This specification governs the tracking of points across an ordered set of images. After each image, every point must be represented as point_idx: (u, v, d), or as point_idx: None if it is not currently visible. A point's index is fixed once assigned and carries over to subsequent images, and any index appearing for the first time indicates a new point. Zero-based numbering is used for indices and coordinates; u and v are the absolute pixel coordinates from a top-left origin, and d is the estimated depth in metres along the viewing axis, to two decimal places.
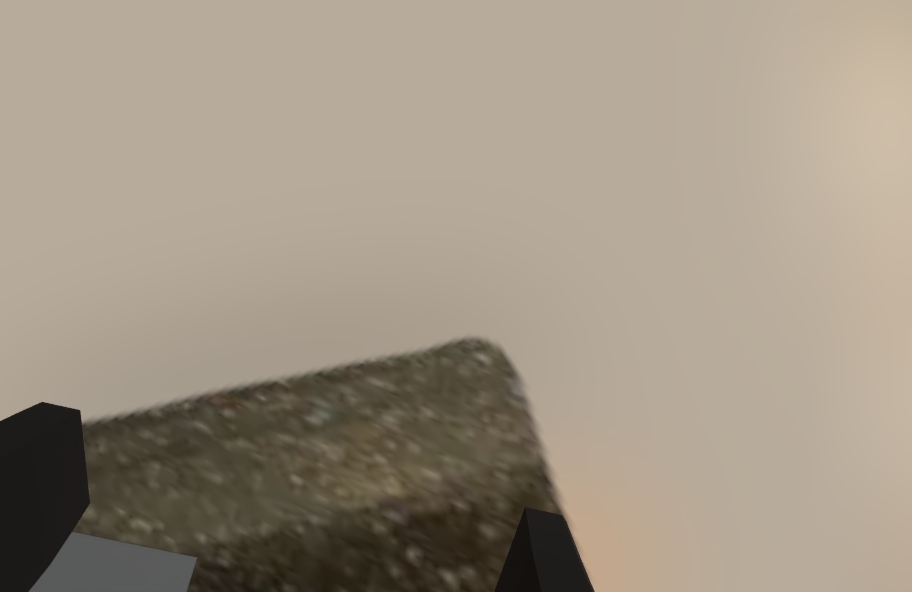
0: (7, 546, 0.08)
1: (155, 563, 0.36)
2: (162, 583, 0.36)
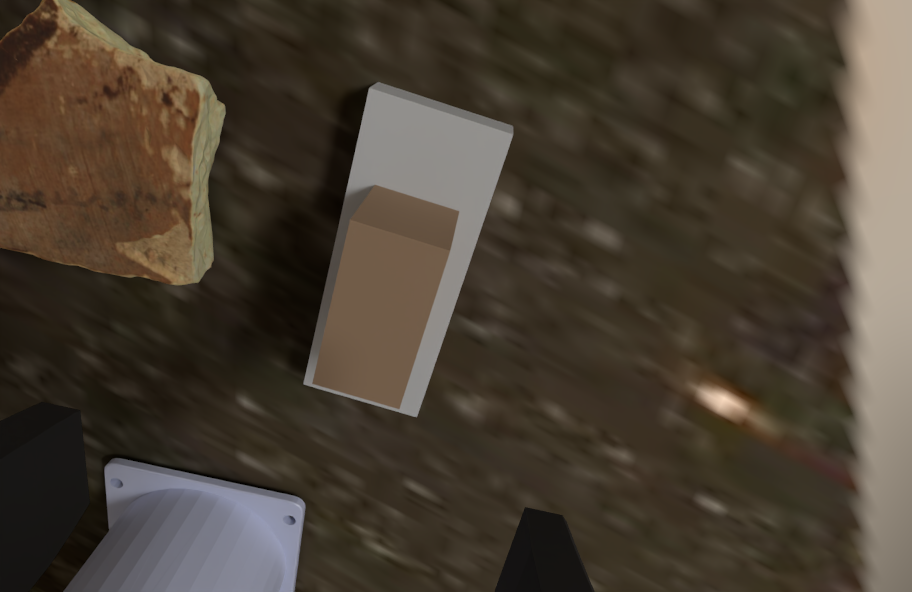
0: (7, 546, 0.08)
1: None
2: None
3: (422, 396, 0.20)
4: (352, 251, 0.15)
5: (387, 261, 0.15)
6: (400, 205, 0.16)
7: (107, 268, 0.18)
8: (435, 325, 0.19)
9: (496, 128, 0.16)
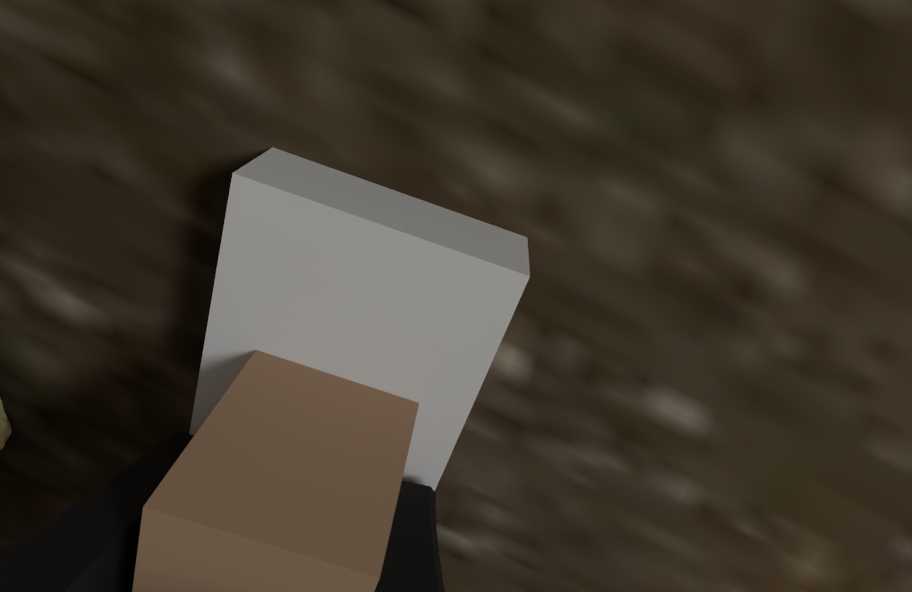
0: None
1: None
2: None
3: None
4: (158, 562, 0.06)
5: (237, 584, 0.06)
6: (295, 411, 0.08)
7: None
8: None
9: (496, 261, 0.08)
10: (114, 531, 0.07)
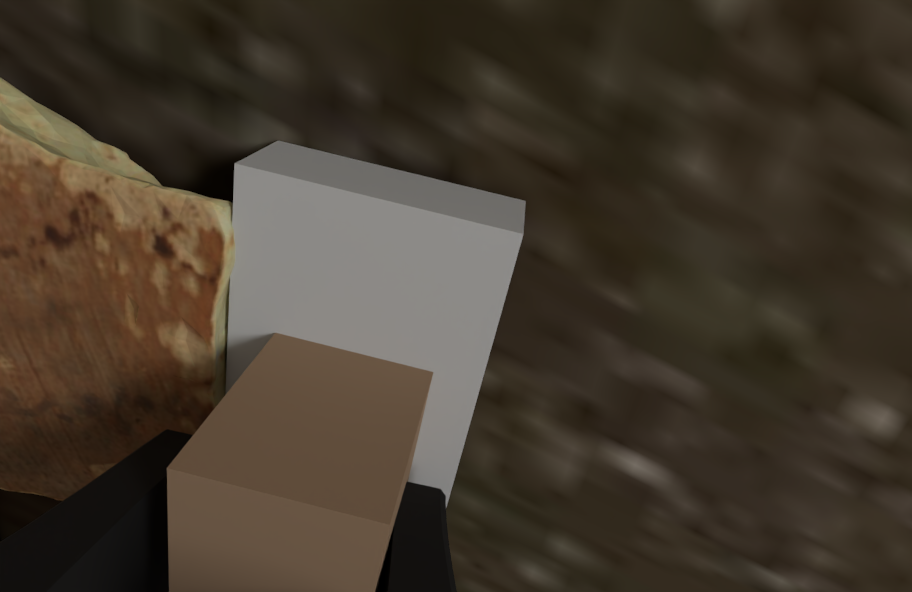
0: (146, 576, 0.08)
1: None
2: None
3: None
4: (187, 522, 0.07)
5: (261, 540, 0.07)
6: (311, 384, 0.08)
7: None
8: None
9: (489, 223, 0.08)
10: (101, 529, 0.07)
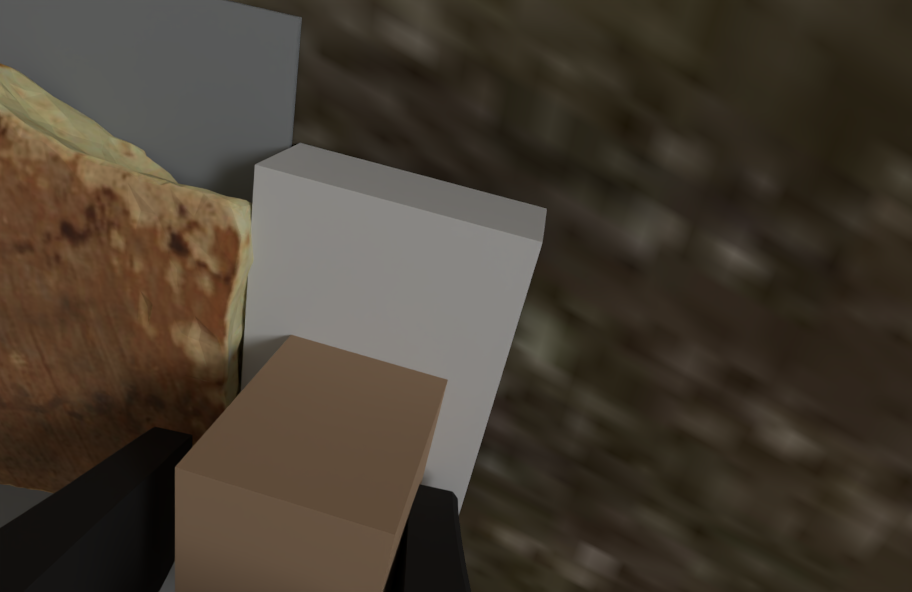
0: (133, 573, 0.08)
1: (146, 40, 0.09)
2: (194, 115, 0.09)
3: None
4: (194, 522, 0.07)
5: (265, 544, 0.07)
6: (324, 387, 0.08)
7: None
8: None
9: (508, 230, 0.08)
10: (86, 525, 0.07)
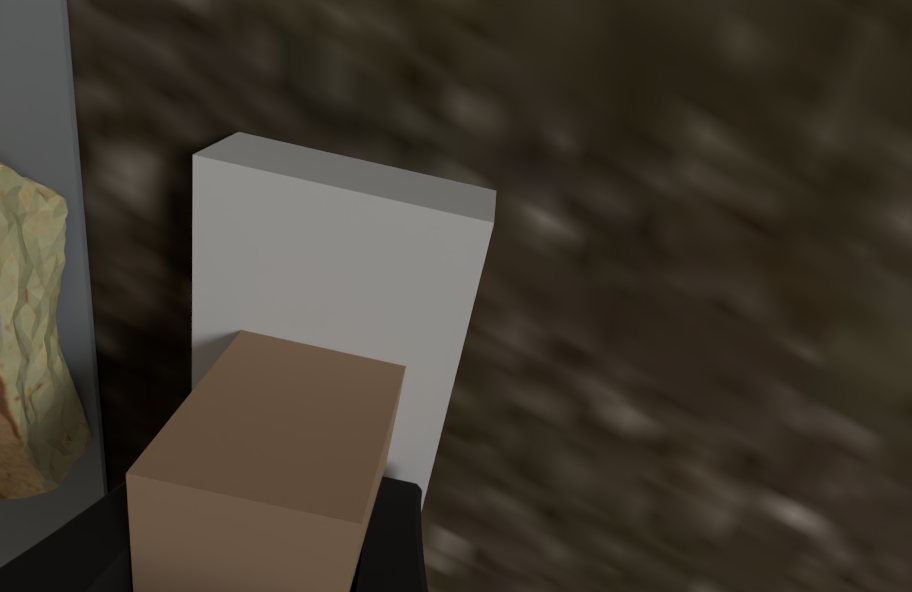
0: None
1: None
2: None
3: None
4: (150, 529, 0.07)
5: (228, 545, 0.07)
6: (280, 380, 0.08)
7: None
8: None
9: (459, 212, 0.08)
10: None
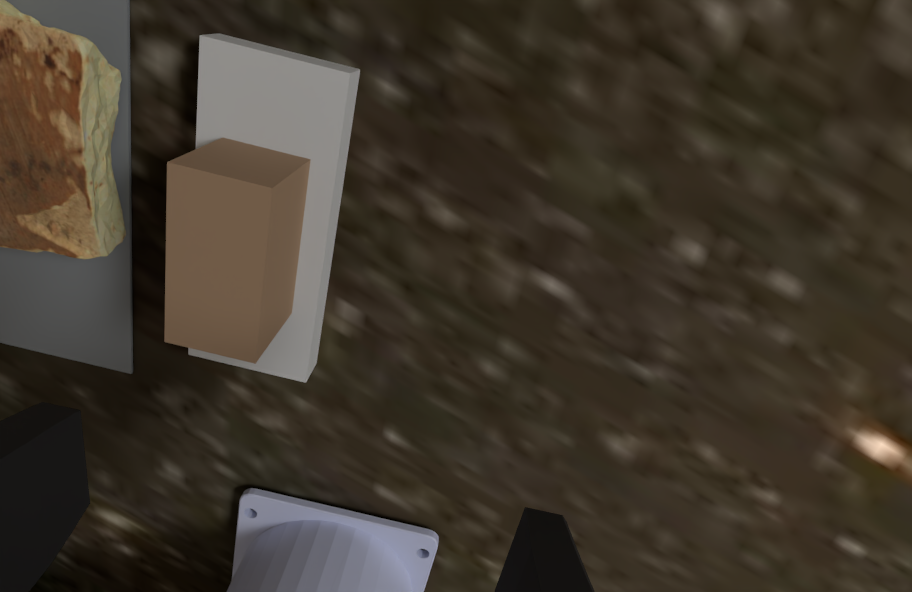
0: (7, 546, 0.08)
1: None
2: None
3: (307, 360, 0.20)
4: (176, 196, 0.14)
5: (212, 204, 0.14)
6: (240, 153, 0.16)
7: (12, 243, 0.18)
8: (307, 283, 0.18)
9: (333, 68, 0.16)
10: None
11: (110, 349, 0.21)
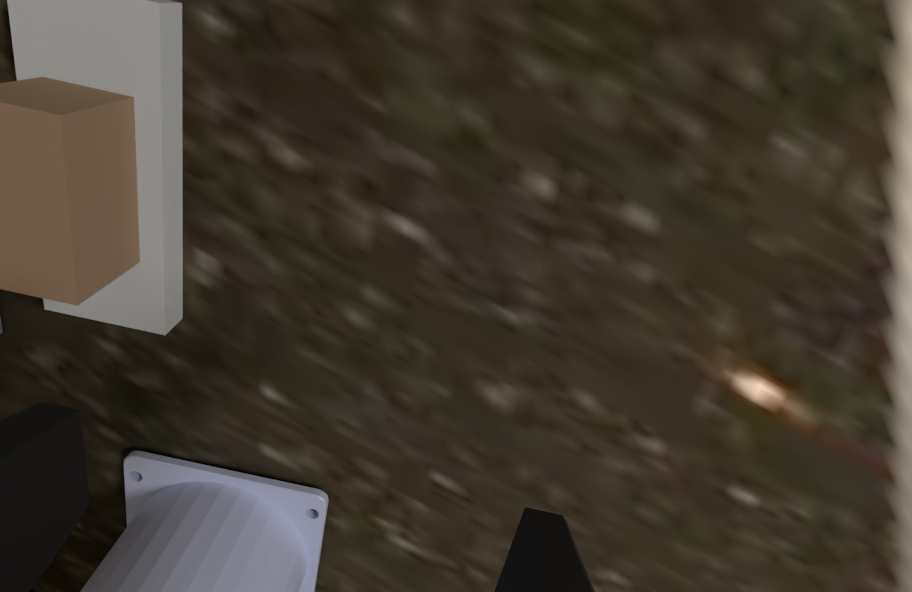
0: (7, 546, 0.08)
1: None
2: None
3: (163, 311, 0.19)
4: None
5: (4, 135, 0.14)
6: (52, 89, 0.15)
7: None
8: (150, 229, 0.18)
9: None
10: None
11: None
